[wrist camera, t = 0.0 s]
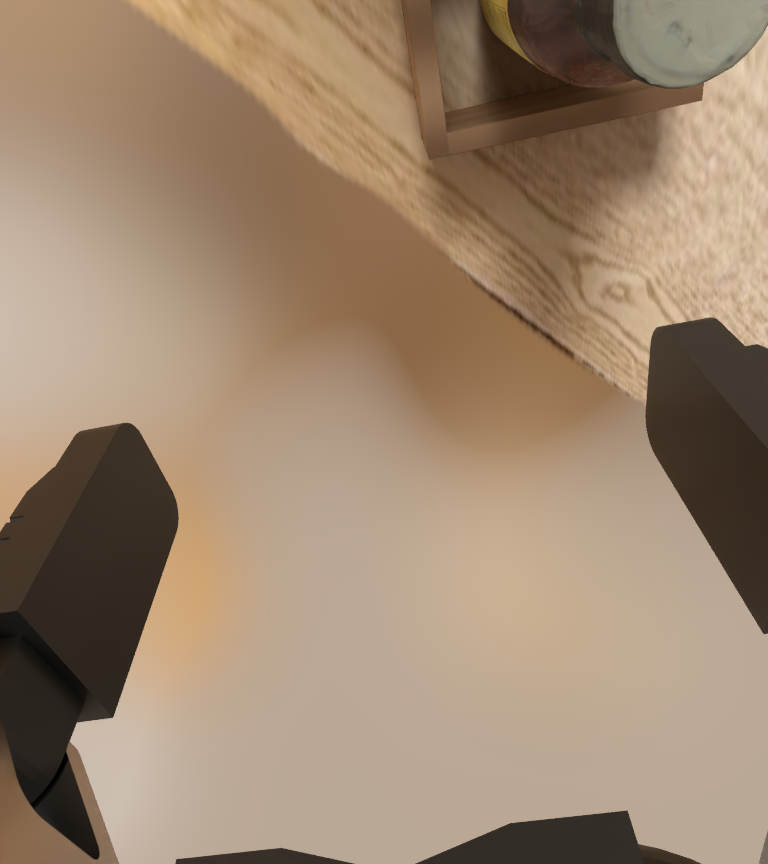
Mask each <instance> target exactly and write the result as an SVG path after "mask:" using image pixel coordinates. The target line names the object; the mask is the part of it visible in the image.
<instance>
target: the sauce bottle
mask: <svg viewBox="0 0 768 864" xmlns="http://www.w3.org/2000/svg"><path fill="white" fill-rule="evenodd" d="M480 2H481V7H482V10H483V14H484V16H485V19H486V21H487V23H488V25H489V27H490V29H491V31H492V32H493V33H494V34H495V35H496V36H497V37H498V38H499V39H500V40H501V41H502V42H503V43H505V44H506V45H507V46H508V47H510V48H511V49H512V50H514V51H515V52H516V53H518V54H519V55H521V56H522V57H523V58H525V59H526V60H527V61H529V62H530V63H532V64H533V65H535V66H536V67H537V68H539V69H540V70H542V71H543V72H545V73H547V74H549V75H551V76H554V77H556V78H558V79H560V80H563V81H565V82H567V83H570V84H572V85H576V86H579V87H596V88H600V87H610V86H614V85H619V84H621V83H625V82H629V81H631V80H634V79H636V80H638V81H640V82H642V83H645V84H648V85H652V86H656V87H660V88H664V89H680V88H688V87H692V86H696V85H699V84H701V83H704V82H706V81H708V80H710V79H712V78H714V77H715V76H717V75H719V74H721V73H722V72H724V71H726V70H728V69H730V68H732V67H733V66H734V65H735V64H736V63H738V62H739V61H740V60H741V59H742V58H743V57H744V56H745V55H746V54H747V53H748V52H749V51H750V50H751V49H752V48H753V46H754V45H755V44H756V43H757V42H758V40H759V39H760V38H761V36H762V35H763V33H764V31H765V29H766V27H767V25H768V0H480Z"/></svg>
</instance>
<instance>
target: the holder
mask: <svg viewBox="0 0 768 864" xmlns="http://www.w3.org/2000/svg"><path fill="white" fill-rule="evenodd" d="M401 1H402V7H403V14H404V21H405V28H406V34H407V41H408V48H409V55H410V61H411V68H412V75H413V82H414V88H415V95H416V102H417V109H418V115H419V122H420V129H421V135H422V140H423V143H424V145H425V148H426V151H427V154H428V157H429V159H434V158H438V157H443V156H448V155H452V154H457V153H461V152H466V151H471V150H475V149H480V148H484V147H489V146H494V145H498V144H503V143H508V142H512V141H517V140H521V139H526V138H531V137H535V136H540V135H544V134H549V133H554V132H558V131H563V130H568V129H572V128H577V127H581V126H586V125H591V124H595V123H600V122H604V121H609V120H614V119H618V118H623V117H628V116H632V115H637V114H641V113H646V112H651V111H655V110H660V109H664V108H669V107H674V106H678V105H683V104H687V103H692V102H697V101H701V100H702V95H703V85H704V83H701V84H699V85H696V86H692V87H688V88H680V89H664V88H660V87H656V86H652V85H648V84H645V83H642V82H640V81H638V80H636V79H634V80H631V81H629V82H625V83H621V84H619V85H614V86H610V87H600V88H596V87H579V86H576V85H567V86H563V87H558V88H554V89H549V90H545V91H540V92H536V93H532V94H527V95H523V96H518V97H514V98H509V99H505V100H500V101H496V102H491V103H487V104H482V105H478V106H473V107H469V108H464V109H460V110H455V111H451V112H447V113H444V107H443V99H442V91H441V83H440V75H439V67H438V59H437V51H436V43H435V35H434V27H433V19H432V11H431V3H430V0H401Z"/></svg>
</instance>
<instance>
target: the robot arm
mask: <svg viewBox="0 0 768 864" xmlns="http://www.w3.org/2000/svg"><path fill="white" fill-rule="evenodd" d="M646 427H647V433H648V437H649V441H650V444H651V447H652V449H653V452H654V454H655V456H656V457H657V459H658V460H659V462H660V464H661V465H662V467H663V469H664V470H665V472H666V474H667V475H668V477H669V478H670V480H671V482H672V484H673V485H674V487H675V488H676V490H677V492H678V493H679V495H680V497H681V499H682V500H683V502H684V503H685V505H686V507H687V508H688V510H689V512H690V513H691V515H692V517H693V518H694V520H695V521H696V523H697V525H698V527H699V528H700V530H701V531H702V533H703V535H704V536H705V538H706V540H707V541H708V543H709V545H710V546H711V548H712V550H713V551H714V553H715V555H716V556H717V558H718V560H719V561H720V563H721V564H722V566H723V568H724V569H725V571H726V573H727V574H728V576H729V578H730V579H731V581H732V583H733V584H734V586H735V588H736V589H737V591H738V593H739V594H740V596H741V597H742V599H743V601H744V602H745V604H746V606H747V607H748V609H749V611H750V612H751V614H752V616H753V617H754V619H755V621H756V622H757V624H758V625H759V627H760V628H761V630H762V632H763V634H767V633H768V349H767V348H765V347H763V346H760V345H758V344H756V345H751V346H744V345H743V344H742V343H741V342H740V341H739V340H738V339H737V338H736V337H735V336H734V335H733V334H732V333H731V332H730V331H729V330H728V329H727V328H726V327H725V326H724V325H723V324H722V323H721V322H720V321H718V320H717V319H715V318H705V319H699V320H694V321H688V322H683V323H677V324H672V325H666V326H661V327H657V328H656V329H655V331H654V332H653V335H652V339H651V346H650V360H649V374H648V388H647V402H646ZM177 528H178V508H177V503H176V499H175V497H174V494H173V492H172V490H171V488H170V486H169V484H168V483H167V481H166V479H165V477H164V475H163V473H162V472H161V470H160V468H159V466H158V464H157V462H156V461H155V459H154V457H153V455H152V453H151V451H150V450H149V448H148V446H147V444H146V442H145V441H144V439H143V437H142V435H141V433H140V432H139V430H138V429H137V428H136V427H135V426H134V425H132V424H130V423H122V424H116V425H111V426H105V427H100V428H95V429H89V430H84V431H80V432H79V433H77V434H76V435H75V437H74V438H73V440H72V441H71V443H70V444H69V446H68V447H67V449H66V451H65V452H64V454H63V455H62V457H61V458H60V460H59V462H58V463H57V465H56V466H55V467H54V468H52V470H50V471H49V472H48V473H47V474H46V475H45V476H44V477H43V478H41V479H40V480H39V481H38V482H37V483H36V484H35V485H34V486H33V487H32V488H31V489H29V490H28V491H27V492H26V494H25V495H24V497H23V498H22V500H21V501H20V503H19V504H18V506H17V507H16V509H15V510H14V512H13V513H12V515H11V517H10V522H9V523H6V524H5V526H4V527H3V529H2V530H1V532H0V864H119V862H118V859H117V857H116V854H115V851H114V848H113V846H112V843H111V840H110V837H109V835H108V832H107V829H106V826H105V823H104V821H103V818H102V815H101V812H100V809H99V807H98V804H97V801H96V798H95V795H94V793H93V790H92V787H91V785H90V782H89V779H88V776H87V773H86V771H85V768H84V765H83V762H82V759H81V757H80V754H79V752H78V750H77V749H76V748H75V747H74V746H73V745H72V744H71V743H70V742H69V741H70V739H71V736H72V733H73V731H74V728H75V726H76V723H77V722H84V721H91V720H99V719H106V718H113V716H114V713H115V711H116V707H117V705H118V702H119V698H120V696H121V693H122V690H123V687H124V684H125V681H126V678H127V675H128V672H129V670H130V667H131V664H132V661H133V658H134V655H135V652H136V649H137V646H138V643H139V640H140V637H141V634H142V631H143V628H144V626H145V623H146V620H147V617H148V614H149V611H150V608H151V605H152V602H153V599H154V596H155V593H156V590H157V588H158V584H159V582H160V579H161V576H162V573H163V570H164V567H165V564H166V561H167V558H168V555H169V552H170V549H171V546H172V543H173V541H174V538H175V534H176V532H177ZM176 864H353V863H348V862H343V861H339V860H334V859H330V858H325V857H320V856H316V855H311V854H306V853H302V852H297V851H293V850H288V849H283V848H277V849H268V850H258V851H249V852H241V853H231V854H221V855H212V856H203V857H194V858H184V859H177V860H176ZM416 864H700V863H698V862H696V861H694V860H692V859H689V858H686V857H683V856H680V855H677V854H674V853H670V852H668V851H665V850H661V849H658V848H654V847H649V846H644V845H639V844H638V843H637V840H636V837H635V834H634V830H633V827H632V824H631V820H630V818H629V814H628V811H620V812H611V813H603V814H593V815H583V816H574V817H564V818H555V819H546V820H537V821H528V822H518V823H510V824H508V825H505V826H503V827H501V828H498V829H496V830H494V831H491V832H489V833H487V834H484V835H482V836H480V837H477V838H475V839H473V840H470V841H468V842H466V843H463V844H461V845H458V846H456V847H454V848H451V849H449V850H447V851H444V852H442V853H440V854H437V855H435V856H433V857H430V858H428V859H426V860H423V861H421V862H419V863H416ZM759 864H768V832H767V836H766V839H765V842H764V846H763V850H762V853H761V857H760V861H759Z"/></svg>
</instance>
